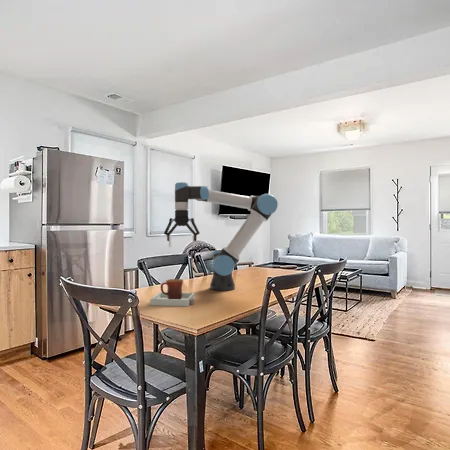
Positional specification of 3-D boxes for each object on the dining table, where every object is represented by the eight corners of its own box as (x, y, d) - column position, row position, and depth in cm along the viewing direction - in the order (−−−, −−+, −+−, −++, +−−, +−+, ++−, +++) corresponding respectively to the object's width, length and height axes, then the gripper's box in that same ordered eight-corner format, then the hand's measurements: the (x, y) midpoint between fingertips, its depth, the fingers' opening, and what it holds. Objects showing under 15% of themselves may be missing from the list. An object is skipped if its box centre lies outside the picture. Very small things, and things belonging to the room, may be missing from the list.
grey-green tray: (197, 298, 190) (197, 293, 190) (191, 306, 173) (191, 300, 173) (159, 297, 192) (159, 292, 192) (150, 305, 175) (150, 299, 175)
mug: (178, 297, 189) (178, 278, 189) (186, 300, 182) (186, 280, 181) (157, 300, 182) (157, 280, 182) (164, 303, 175) (164, 283, 175)
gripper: (204, 209, 206) (204, 246, 206) (161, 210, 208) (162, 246, 208) (202, 209, 198) (202, 247, 199) (158, 209, 200) (158, 247, 201)
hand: (181, 247), depth 203 cm, fingers open, 13 cm apart
